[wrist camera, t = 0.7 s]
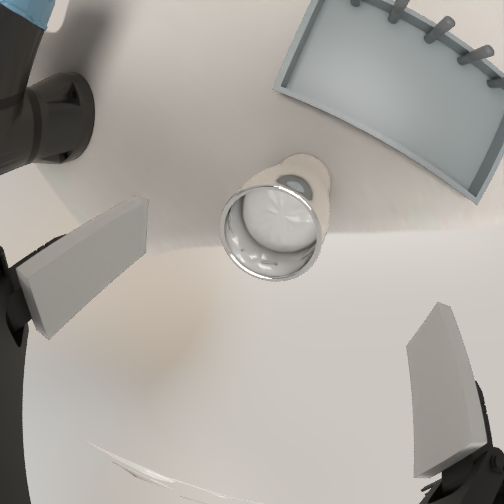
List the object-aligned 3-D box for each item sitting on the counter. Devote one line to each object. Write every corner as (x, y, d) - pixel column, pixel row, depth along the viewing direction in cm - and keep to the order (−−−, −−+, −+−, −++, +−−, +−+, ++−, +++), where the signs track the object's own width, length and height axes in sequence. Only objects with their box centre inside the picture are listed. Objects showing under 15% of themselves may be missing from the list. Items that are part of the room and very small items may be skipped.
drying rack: (279, 91, 27) (258, 85, 20) (326, -13, 19) (319, -47, 13) (465, 195, 25) (495, 221, 18) (511, 95, 18) (550, 96, 11)
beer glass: (346, 168, 29) (347, 216, 16) (317, 222, 32) (293, 301, 20) (286, 138, 29) (238, 160, 16) (262, 193, 33) (203, 253, 20)
